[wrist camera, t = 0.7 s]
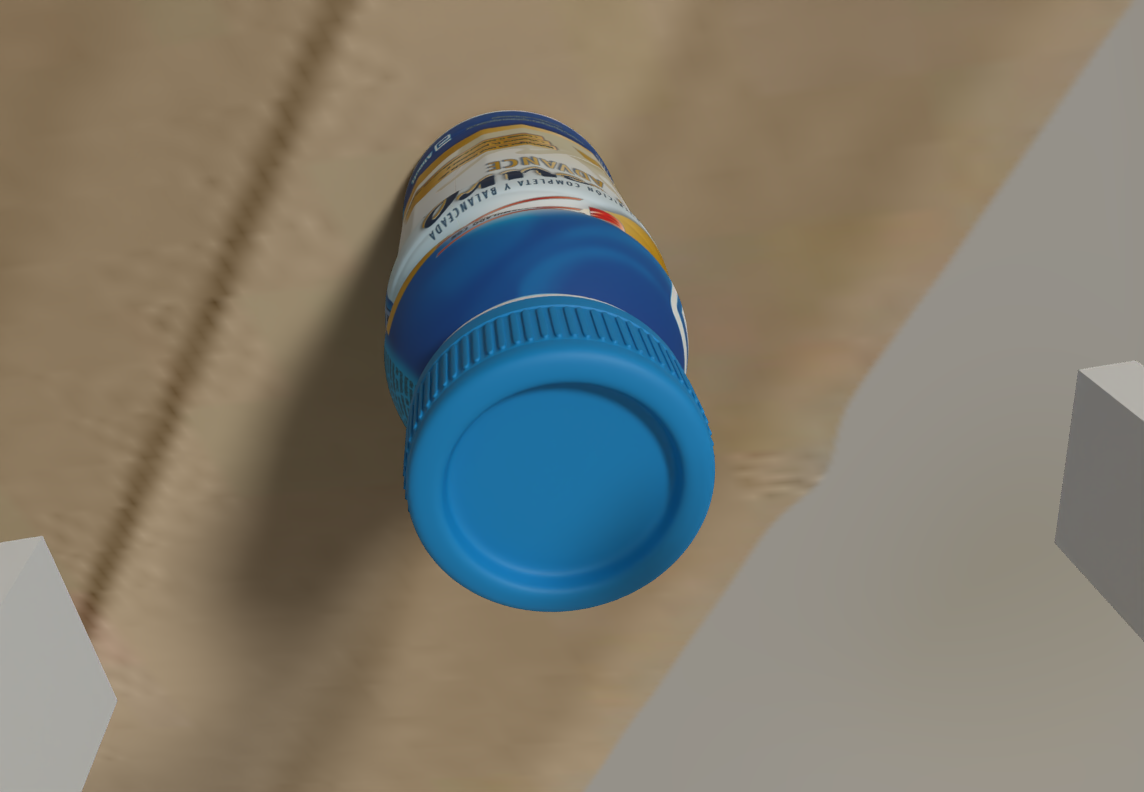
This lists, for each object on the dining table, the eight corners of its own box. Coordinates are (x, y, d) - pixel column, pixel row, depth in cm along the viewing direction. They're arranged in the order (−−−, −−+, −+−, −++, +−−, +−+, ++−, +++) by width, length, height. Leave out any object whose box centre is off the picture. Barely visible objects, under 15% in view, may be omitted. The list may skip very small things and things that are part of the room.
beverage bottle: (381, 292, 40) (329, 624, 22) (423, 77, 36) (400, 265, 18) (587, 333, 41) (691, 671, 24) (645, 132, 38) (819, 352, 20)
